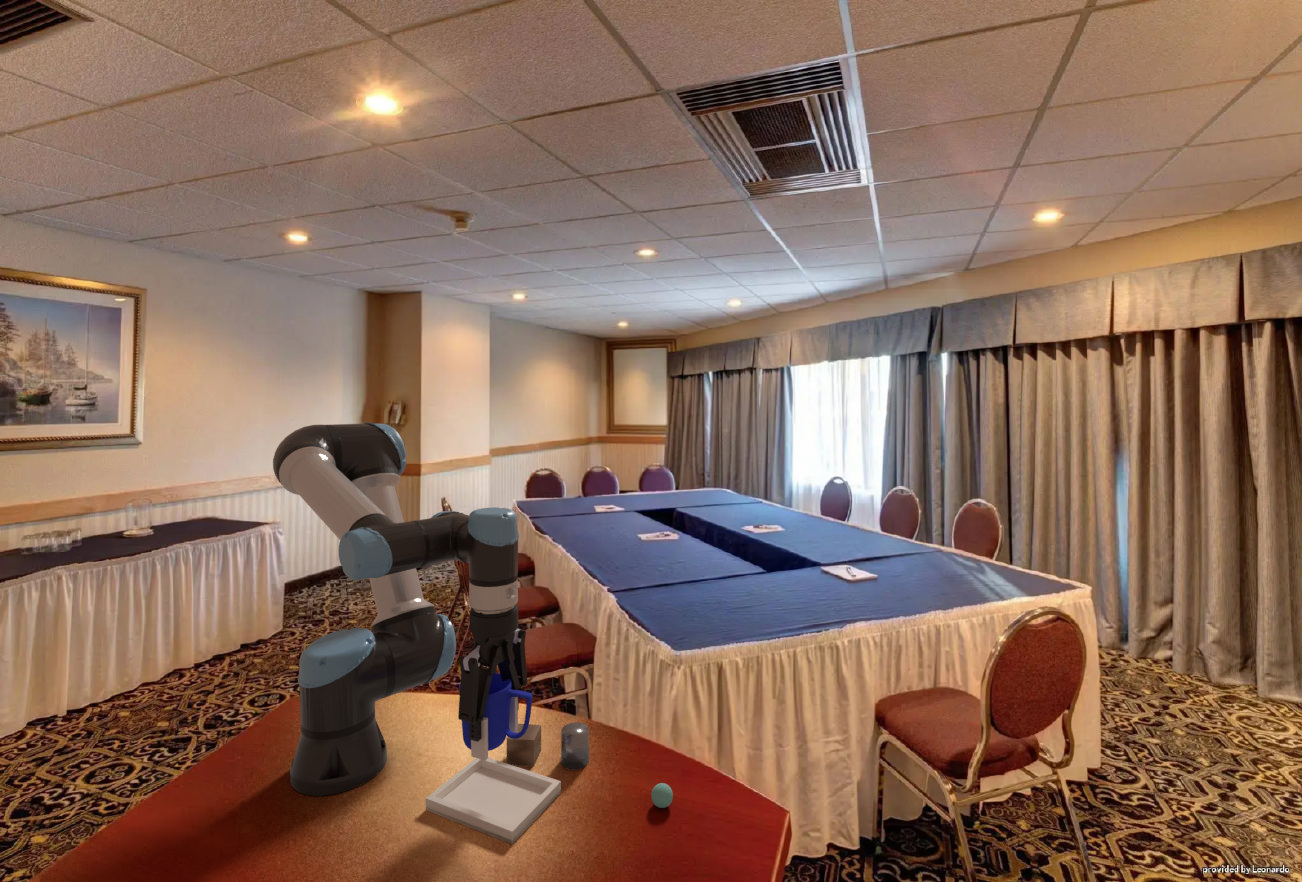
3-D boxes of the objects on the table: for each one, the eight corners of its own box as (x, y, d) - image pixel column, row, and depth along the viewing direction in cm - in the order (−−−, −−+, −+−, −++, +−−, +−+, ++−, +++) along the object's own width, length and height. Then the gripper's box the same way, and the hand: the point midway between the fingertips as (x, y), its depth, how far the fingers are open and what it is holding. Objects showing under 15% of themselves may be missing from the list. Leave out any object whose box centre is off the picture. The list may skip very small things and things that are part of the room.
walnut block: (506, 765, 109) (506, 738, 109) (515, 748, 114) (515, 723, 114) (533, 766, 109) (533, 740, 109) (541, 750, 114) (541, 724, 114)
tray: (425, 809, 97) (425, 798, 97) (480, 765, 109) (480, 754, 109) (512, 844, 90) (512, 831, 90) (560, 792, 102) (560, 781, 102)
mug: (520, 764, 94) (520, 701, 93) (449, 753, 96) (449, 692, 96) (540, 735, 102) (541, 677, 101) (474, 726, 104) (474, 669, 104)
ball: (647, 808, 98) (648, 788, 98) (656, 796, 101) (656, 776, 101) (667, 815, 97) (668, 794, 97) (675, 802, 100) (676, 781, 100)
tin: (555, 765, 109) (555, 733, 109) (570, 750, 114) (570, 719, 113) (579, 772, 107) (579, 740, 107) (593, 757, 112) (594, 726, 111)
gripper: (470, 631, 86) (471, 786, 88) (549, 591, 104) (549, 720, 106) (429, 622, 90) (432, 772, 91) (513, 585, 107) (514, 711, 109)
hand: (495, 744), depth 99 cm, fingers closed on mug, 7 cm apart
